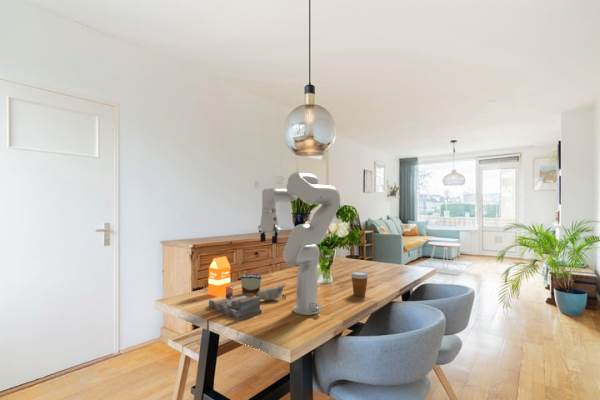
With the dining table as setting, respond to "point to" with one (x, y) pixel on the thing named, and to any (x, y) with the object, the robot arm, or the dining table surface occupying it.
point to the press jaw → (233, 302)
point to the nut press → (244, 311)
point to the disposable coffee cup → (359, 282)
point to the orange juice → (219, 276)
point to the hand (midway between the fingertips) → (268, 242)
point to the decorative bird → (271, 293)
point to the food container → (250, 283)
